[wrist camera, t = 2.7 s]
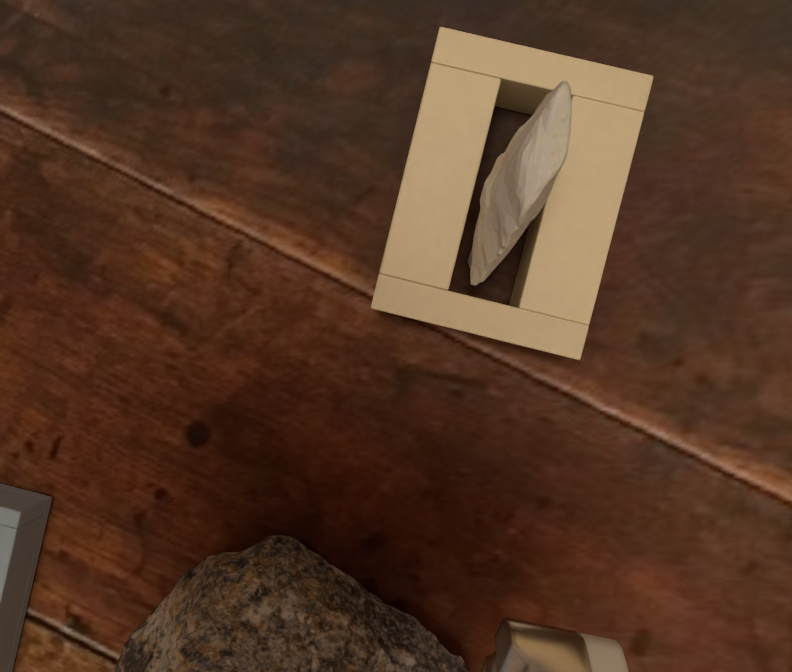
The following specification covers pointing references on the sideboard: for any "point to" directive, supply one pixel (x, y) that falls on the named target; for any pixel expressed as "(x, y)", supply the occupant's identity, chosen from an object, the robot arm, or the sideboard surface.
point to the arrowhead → (521, 182)
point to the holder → (557, 220)
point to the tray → (18, 561)
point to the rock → (279, 620)
